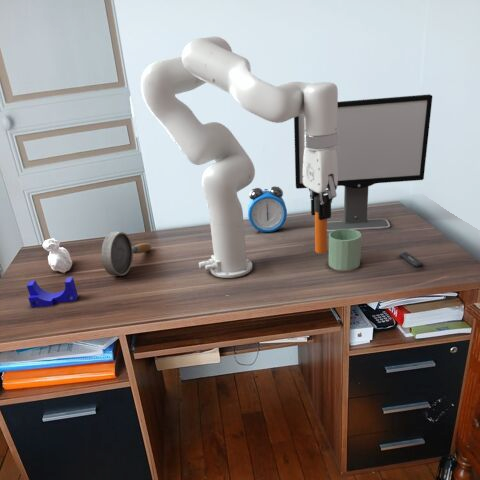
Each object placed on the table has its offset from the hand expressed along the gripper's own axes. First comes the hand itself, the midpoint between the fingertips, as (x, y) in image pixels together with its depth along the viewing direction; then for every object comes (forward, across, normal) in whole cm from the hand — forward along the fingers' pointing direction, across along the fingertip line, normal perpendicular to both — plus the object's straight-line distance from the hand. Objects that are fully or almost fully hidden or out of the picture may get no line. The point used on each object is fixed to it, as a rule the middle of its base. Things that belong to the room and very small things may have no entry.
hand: (320, 215), depth 127 cm
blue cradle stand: (+20, -27, -69) cm, 77 cm away
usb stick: (+20, 0, +29) cm, 35 cm away
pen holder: (+20, -8, +12) cm, 24 cm away
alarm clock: (+20, -46, +4) cm, 50 cm away
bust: (+20, -50, -66) cm, 85 cm away
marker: (+10, 0, 0) cm, 10 cm away
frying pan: (+20, -41, -45) cm, 64 cm away
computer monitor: (+20, -34, +32) cm, 50 cm away
